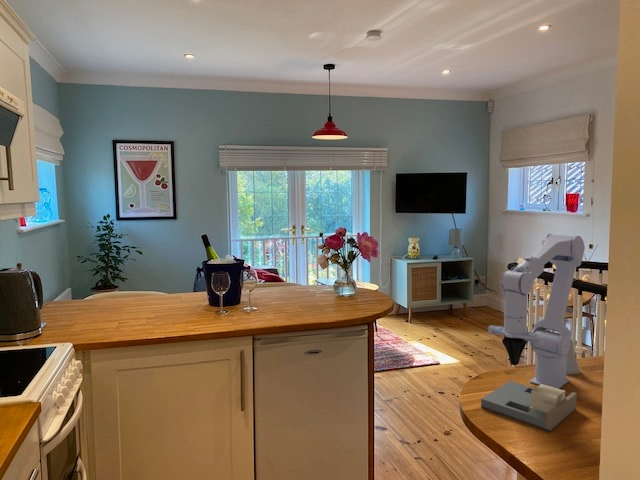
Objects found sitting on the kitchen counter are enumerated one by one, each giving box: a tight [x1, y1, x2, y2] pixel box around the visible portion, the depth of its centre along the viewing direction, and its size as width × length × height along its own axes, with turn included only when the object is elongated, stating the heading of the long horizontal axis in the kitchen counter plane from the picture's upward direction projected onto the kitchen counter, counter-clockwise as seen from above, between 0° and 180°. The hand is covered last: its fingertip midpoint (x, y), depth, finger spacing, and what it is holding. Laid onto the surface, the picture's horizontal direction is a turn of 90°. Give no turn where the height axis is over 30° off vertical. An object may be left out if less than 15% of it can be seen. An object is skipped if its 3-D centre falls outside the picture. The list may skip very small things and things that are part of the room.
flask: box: [565, 338, 581, 375], centre depth 149 cm, size 7×7×10 cm
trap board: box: [480, 380, 578, 433], centre depth 126 cm, size 16×18×4 cm
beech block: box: [531, 384, 566, 412], centre depth 122 cm, size 6×6×4 cm
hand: (514, 364), depth 130 cm, fingers closed
